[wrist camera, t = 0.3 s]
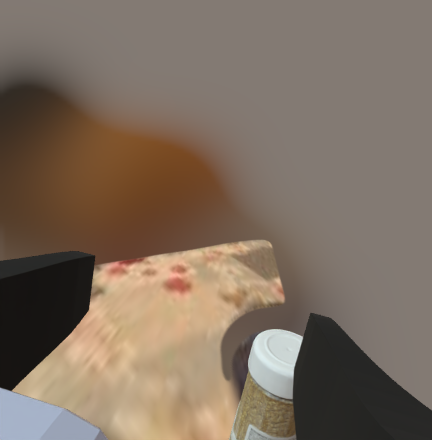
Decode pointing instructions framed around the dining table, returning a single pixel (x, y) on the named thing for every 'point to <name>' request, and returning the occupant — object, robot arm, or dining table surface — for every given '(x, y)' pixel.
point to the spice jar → (269, 389)
